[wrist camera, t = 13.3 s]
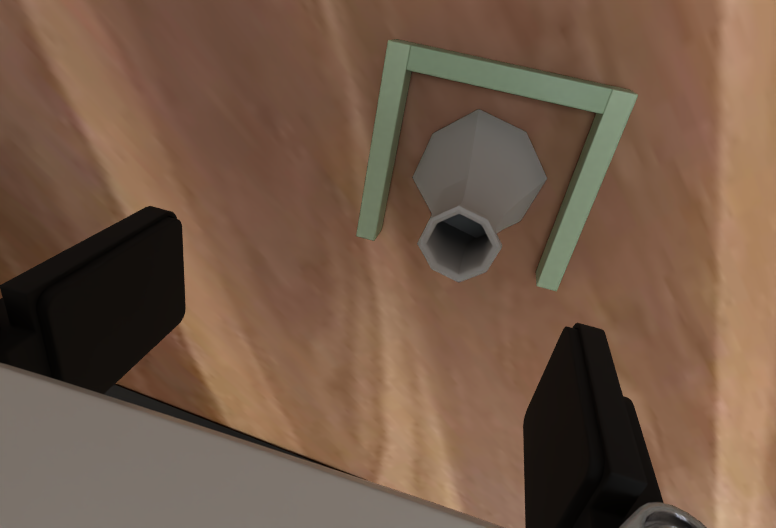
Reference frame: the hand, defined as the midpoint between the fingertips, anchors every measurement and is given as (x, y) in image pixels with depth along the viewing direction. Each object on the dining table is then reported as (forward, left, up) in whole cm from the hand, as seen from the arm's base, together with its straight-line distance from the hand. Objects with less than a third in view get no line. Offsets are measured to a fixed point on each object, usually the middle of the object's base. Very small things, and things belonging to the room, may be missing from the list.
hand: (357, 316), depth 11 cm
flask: (+2, -2, -19) cm, 19 cm away
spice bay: (+2, -2, -19) cm, 19 cm away
